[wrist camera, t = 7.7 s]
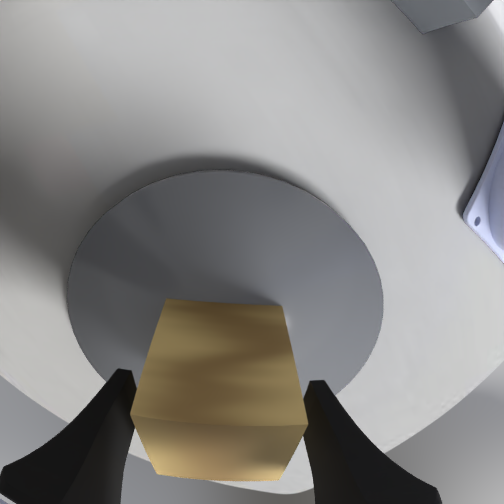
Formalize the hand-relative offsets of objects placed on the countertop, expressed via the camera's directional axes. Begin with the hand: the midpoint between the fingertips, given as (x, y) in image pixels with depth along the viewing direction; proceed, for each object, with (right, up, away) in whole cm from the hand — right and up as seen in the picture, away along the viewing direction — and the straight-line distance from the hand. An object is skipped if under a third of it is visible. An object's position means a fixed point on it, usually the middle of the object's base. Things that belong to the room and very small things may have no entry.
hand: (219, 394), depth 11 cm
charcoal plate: (0, +2, +4) cm, 4 cm away
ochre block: (0, +1, +3) cm, 3 cm away
